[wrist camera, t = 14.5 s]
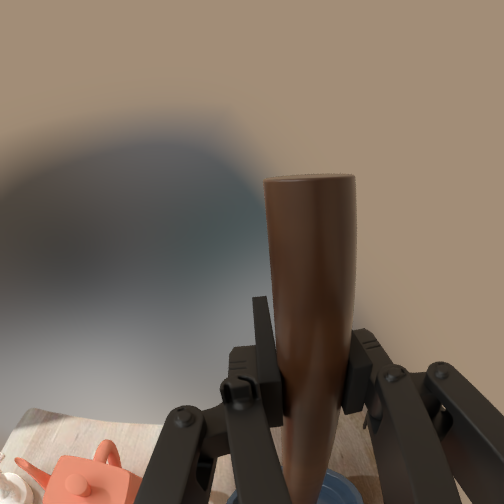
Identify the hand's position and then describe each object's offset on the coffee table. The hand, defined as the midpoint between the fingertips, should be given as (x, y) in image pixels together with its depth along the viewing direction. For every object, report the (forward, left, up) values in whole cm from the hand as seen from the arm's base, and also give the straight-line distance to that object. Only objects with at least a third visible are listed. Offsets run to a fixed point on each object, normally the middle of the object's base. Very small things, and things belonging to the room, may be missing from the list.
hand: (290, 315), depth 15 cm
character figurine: (+44, +9, -31) cm, 55 cm away
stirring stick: (0, +5, -16) cm, 17 cm away
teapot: (+23, +5, -31) cm, 39 cm away
